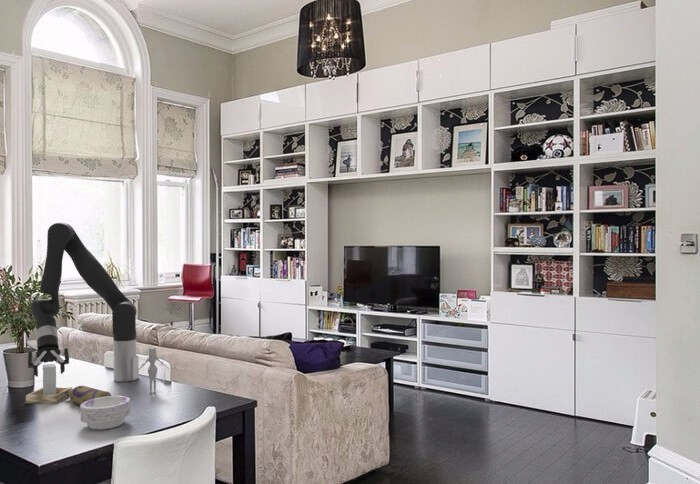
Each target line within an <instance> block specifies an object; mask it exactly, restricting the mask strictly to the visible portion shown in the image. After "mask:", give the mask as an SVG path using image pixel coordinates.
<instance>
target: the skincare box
mask: <svg viewBox="0 0 700 484" xmlns="http://www.w3.org/2000/svg"><path fill="white" fill-rule="evenodd" d="M42 387H43V395H56V387H57V366H56V364H55V363H49V364H43V365H42Z"/></svg>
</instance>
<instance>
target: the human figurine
mask: <svg viewBox="0 0 700 484" xmlns="http://www.w3.org/2000/svg"><path fill="white" fill-rule="evenodd" d="M157 361H158V362H159V363H160V364H161V365H163V367H166V368H167V369H169V367H168V366H167V365H166V364H165V363H164V362H163V361H161V359H159V357H158V356H157V348H156V347H149V350H148V357H147V359H146V360H145V361H144V362H143V363H142V364H141V365H140V366H139V367H138V368H139V369H138V371H140V369H142V368H143V367H144V366H145V365H146V364H147V363H148V362H149V365H148V368H147V374H148V378H149V382H148V383H149V394H150V395H152V394H154V395H155V394H156V393H157V390H156V389H157V380H156V379H157V374H158V367H157V365H156V364H155V363H156V362H157ZM138 371H137V372H138ZM152 389H153V390H154V391H152Z"/></svg>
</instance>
